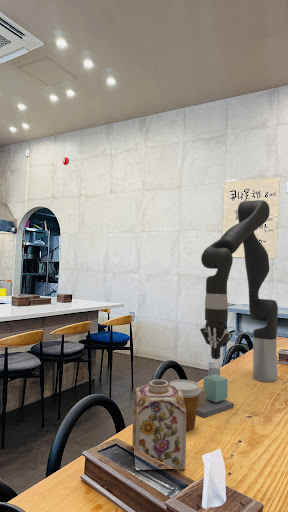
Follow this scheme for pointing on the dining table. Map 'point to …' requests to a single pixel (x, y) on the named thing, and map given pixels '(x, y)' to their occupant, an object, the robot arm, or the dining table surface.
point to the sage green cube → (215, 387)
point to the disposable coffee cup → (189, 399)
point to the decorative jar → (160, 423)
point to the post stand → (211, 405)
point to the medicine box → (214, 368)
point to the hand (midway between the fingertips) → (215, 358)
